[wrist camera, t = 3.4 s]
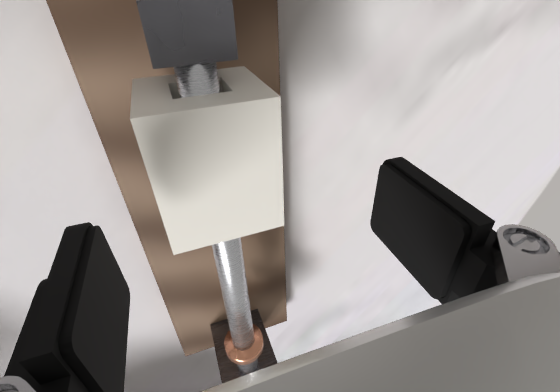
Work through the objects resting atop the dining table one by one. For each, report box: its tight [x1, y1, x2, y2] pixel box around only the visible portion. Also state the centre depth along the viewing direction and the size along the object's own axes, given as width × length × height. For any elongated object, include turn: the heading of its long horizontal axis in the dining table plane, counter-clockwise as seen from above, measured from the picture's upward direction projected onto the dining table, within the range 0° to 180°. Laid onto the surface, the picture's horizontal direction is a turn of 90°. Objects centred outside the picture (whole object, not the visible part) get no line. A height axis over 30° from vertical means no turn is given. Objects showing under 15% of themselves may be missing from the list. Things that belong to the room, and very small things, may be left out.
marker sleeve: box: [130, 66, 284, 255], centre depth 14 cm, size 6×5×5 cm
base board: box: [46, 0, 287, 356], centre depth 22 cm, size 30×10×2 cm, turn 2°
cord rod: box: [136, 0, 277, 383], centre depth 20 cm, size 28×4×6 cm, turn 2°
